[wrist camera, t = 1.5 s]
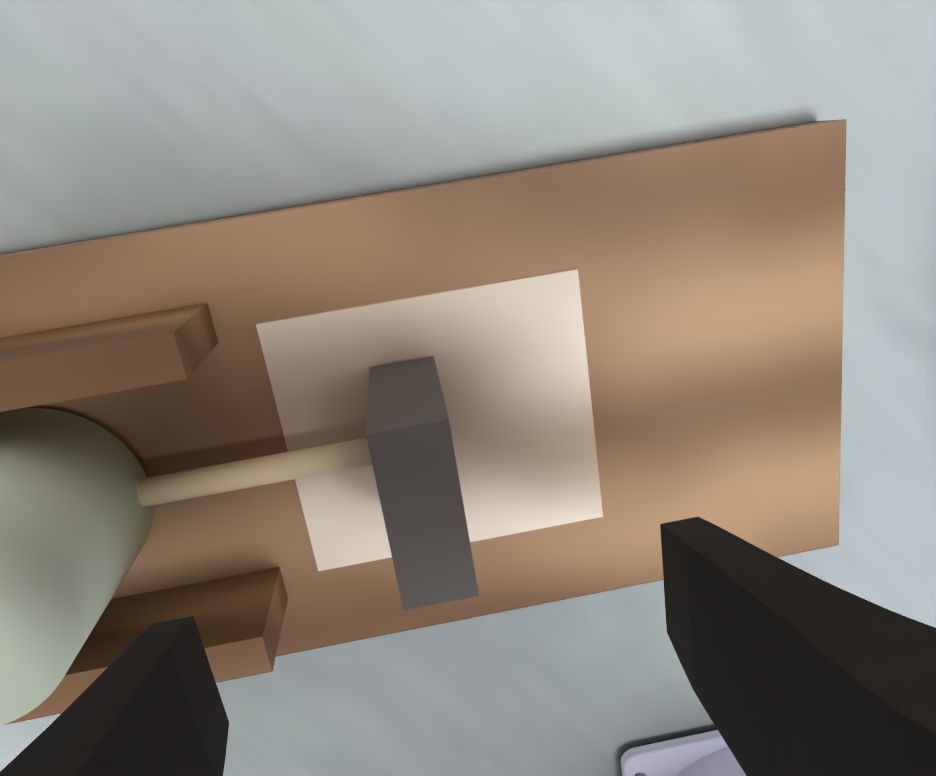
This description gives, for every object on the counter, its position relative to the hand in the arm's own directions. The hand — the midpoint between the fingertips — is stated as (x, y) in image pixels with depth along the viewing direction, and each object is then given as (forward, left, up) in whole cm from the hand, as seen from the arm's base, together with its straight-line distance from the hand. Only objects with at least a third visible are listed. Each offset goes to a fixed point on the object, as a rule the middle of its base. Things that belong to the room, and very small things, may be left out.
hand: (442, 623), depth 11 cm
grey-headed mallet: (0, +6, -8) cm, 10 cm away
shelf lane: (0, +1, -10) cm, 10 cm away
